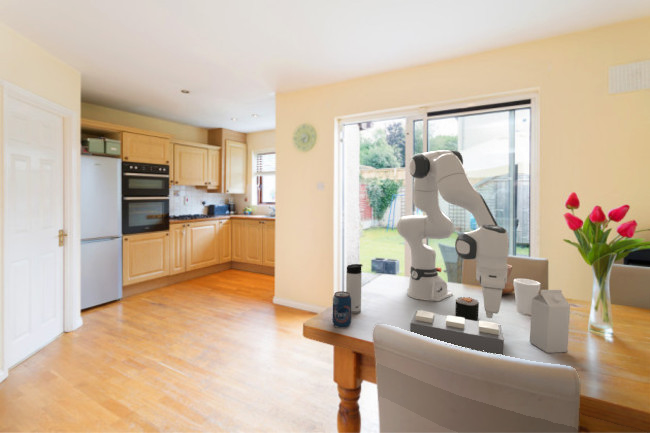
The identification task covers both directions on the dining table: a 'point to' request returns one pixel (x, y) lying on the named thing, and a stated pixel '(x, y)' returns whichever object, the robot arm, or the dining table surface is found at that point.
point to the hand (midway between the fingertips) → (489, 316)
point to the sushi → (467, 308)
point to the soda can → (342, 309)
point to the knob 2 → (488, 327)
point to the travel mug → (354, 286)
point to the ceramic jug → (508, 283)
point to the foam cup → (525, 294)
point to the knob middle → (455, 321)
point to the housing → (460, 334)
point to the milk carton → (550, 321)
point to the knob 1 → (425, 316)
